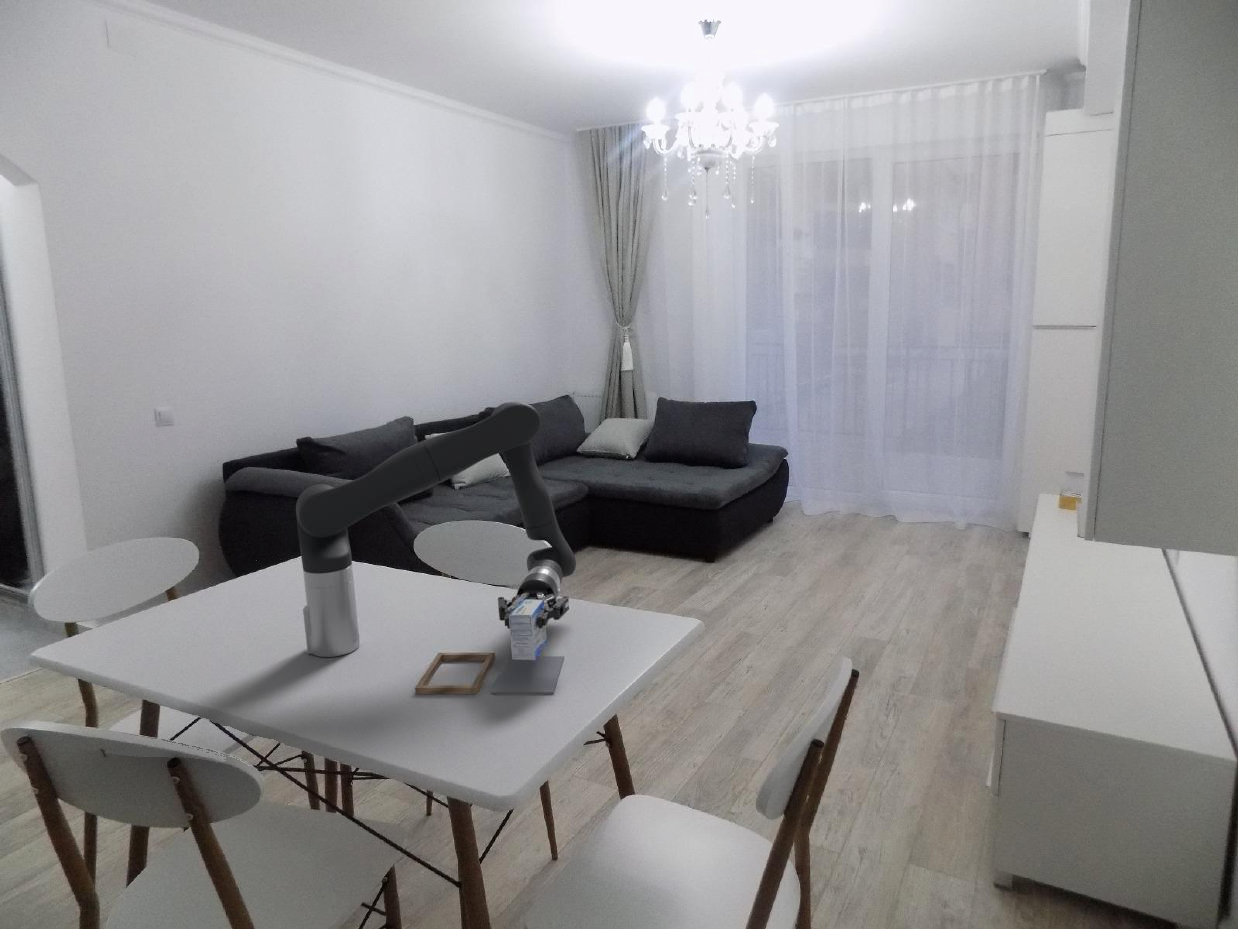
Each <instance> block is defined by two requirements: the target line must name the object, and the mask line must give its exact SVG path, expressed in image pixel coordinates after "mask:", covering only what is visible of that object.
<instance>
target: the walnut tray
mask: <svg viewBox="0 0 1238 929" xmlns="http://www.w3.org/2000/svg"><path fill="white" fill-rule="evenodd" d="M495 653H496V652H438V653H437V654H436V656H435V658H433V660H432V661H431V663H430V665H429V666H428V668H427V670H425V672H424V673H423V675H422V677H421V678H420V680H419V681H418V682H417V684H416V685H415V687H414V693H415V695H478V693H479V691H480V690H481V687H482V685H483V683H484V681H485V679H486V677H487V675H488V673H489V671H490V669H491V668H492V665H493V663H494V661H495V660H496V654H495ZM445 661H449V662H450V661H451V662H452V661H454V662H458V661H459V662H462V661H471V662H472V661H473V662H475V661H482V662H483V661H484V662H483V664H482V666H481V668H480V670H479V672H478V674H477V675H476V677H475V679H474V681H473V684H472V685H471V684H470V685H469V684H467V685H466V684H465V685H463V684H460V685H459V684H458V685H457V684H455V685H453V684H452V685H451V684H448V685H447V684H446V685H445V684H443V685H441V684H440V685H439V684H438V685H437V684H435V685H432V684H431V685H429V683H430V682H431V679H432V678H433V676H434V675H435V673H436V672H437V670H438V669H439V666H441V664H442V662H445Z"/></svg>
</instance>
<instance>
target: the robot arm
mask: <svg viewBox="0 0 1238 929" xmlns="http://www.w3.org/2000/svg"><path fill="white" fill-rule="evenodd" d="M541 421H542V420H541V417H540V414H539V412H538V411H537V409H536V408H535V407H533V406H532V405H530V404H529V403H525V402H521V401H510V402H508V401H507V402H504V403H501V404H500V405H498V406H497V407H496V408H495V409H494V410H493V411H492V413H491V415H490V416H487V417H486V418H484V419H482V420H480V421H478V422H477V423H475V424H473V425H470V426H467V427H464V428H460V429H457V430H453V431H449V432H445V433H442V434H438V435H436V436H433V437H430V438H427V439H424V440H421V441H420V442H417V443H414V444H413V445H411V446H408V447H406V448H403V449H402V450H400V451H398V452H397V453H394V454H393V455H391V456H390V457H388V458H387V459H386V460H384V461H383V462H381V463H380V464H379V465H377V466H376V467H374V468H373V469H372V470H370V471H369V472H368V473H366V474H364V475H362V476H360V477H359V478H356V479H354V480H351V481H348V482H346V483H343V484H341V485H338V486H335V487H333V486H331V485H329V484H322V483H321V484H314V485H311V486H309V487H307V488H305V489H304V490H303V491H302V492H301V493H300V495H299V496H298V498H297V500H296V503H295V504H296V505H295V515H296V516H295V517H296V523H297V524H296V525H297V532H298V540H299V542H298V543H299V550H300V556H301V563H302V572H303V580H304V581H303V582H304V590H305V597H306V598H305V601H306V605H305V606H304V607H303V609H302V612H303V614H302V615H303V624H304V632H305V641H306V650H307V654H308V655H314V656H316V657H322V658H329V657H330V658H332V657H338V656H344V655H346V654H350V653H352V652H354V651H356V650H357V649H359V647H360V633H359V622H358V611H357V600H356V599H357V598H356V590H355V580H354V571H353V570H354V569H353V559H352V558H353V557H352V549H351V545H350V540H349V532H348V528H349V527H351V526H352V525H354V524H355V523H357V522H359V521H361V520H362V519H364V518H365V517H367V516H369V515H371V514H373V513H374V512H376V511H378V510H381V509H382V508H385V507H388V506H391V505H393V504H396V503H398V502H400V501H402V500H405V499H407V498H409V497H412V496H414V495H416V494H419V493H421V492H424V491H426V490H428V489H430V488H433V487H435V486H436V485H438V484H441V483H443V482H445V481H447V480H449V479H451V478H453V477H455V476H457V475H458V474H460V473H462V472H464V471H466V470H468V469H469V468H471V467H473V466H475V465H476V464H478V463H479V462H482V461H483V460H485V459H488V458H491V457H493V456H495V455H497V454H498V455H499V454H502V457H503V459H504V462H505V464H506V467H507V469H508V472H509V475H510V478H511V481H512V486H513V489H514V492H515V495H516V499H517V503H518V506H519V507H518V508H519V511H520V514H521V519H522V522H523V525H524V529H525V532H526V535H527V536H526V537H527V538H528V539H529V540H531V541H546V542H548V543H549V544H550V545H551V546H549V547H545V548H541V549H536V550H533V551H531V552H530V553H529V554H528V556H527V559H526V568H527V571H528V572H527V573H526V575H524V578H523V580H522V581H521V583H520V586H519V587H518V589H517V592H516V595H515V596H513V597H512V598H511V599H506V598H505V597H504V596H499V597H497V608H498V618H499V621H502V622H504V626H505V627H507V629H508V630H510V624H509V615H510V614H511V613H512V612H513V611H514V610H515V608H516V607H517V606H518V605H519V604H520V602H521V601H522V600H543V601H544V606H543V607H542V610H541V611H540V613H539V616H538V628H543V626H547V625H548V623H549V622H550V620H551V619H553V620H554V621H558V620H561V618H563V617H564V615H565V614H566V613H567V612H568V611H569V610H570V600H569V598H570V597H569V596H568V595H564V596H561V598H560V597H559V598H558V596H559V595H560V588H561V587H560V586H561V584H562V581H563V578H566V577H571V576H572V575H573V574H574V573H575V571H576V569H577V560H576V556H575V554H574V551H573V550H572V549H571V548H572V547H570V545H569V543H568V541H567V540H566V538H565V537H564V535H563V533H562V531H561V528H560V526H559V524H558V520H557V517H556V513H555V509H554V505H553V502H552V498H551V496H550V493H549V491H548V488H547V486H546V484H545V482H544V479H543V478H542V475H541V473H540V470H539V468H538V466H537V463H536V459H535V457H534V453H533V446H532V441H533V440H534V439H535V438H536V437H537V435H538V434H539V432H540V429H541Z"/></svg>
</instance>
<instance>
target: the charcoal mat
mask: <svg viewBox="0 0 1238 929" xmlns="http://www.w3.org/2000/svg"><path fill="white" fill-rule="evenodd" d="M564 660H565V656H563V655H561V656H560V655H556V656H555V655H554V656H553V655H552V656H550V655H542V656H539V655H538V657H537V658H536V660H535V661H533V660H514V659H512V655H511V656H510V655H509V656H507V657H506V659H505V662H504V663H503V665H502V668H501V670H500V672H499V674H498V676H497V678H496V680H495V683H494V685H493V687H492V689H491V691H490V694H491V695H554V694H555V690H556V687H557V685H558V681H559V677H560V674H561V671H562V668H563V663H564Z"/></svg>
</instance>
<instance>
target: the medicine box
mask: <svg viewBox="0 0 1238 929" xmlns="http://www.w3.org/2000/svg"><path fill="white" fill-rule="evenodd" d="M543 606H544V601H543V600H522V601H521V602H520V604H519V605H518V606H517V607H516V608H515V610H514V611H513V612H512V613H511V614H510V615H509V624H510V629H509V634H510V635H509V637H510V649H511V656H512V659H514V660H533V661H535V660H536V658H537V657H538V656H539V655H540V654H541V651H542V650H543V649H544V648H545V646H546V645H547V627H546V626H547V625H546V626H543V628H538V616H539V613H540V611H541V610H542V607H543Z"/></svg>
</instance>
